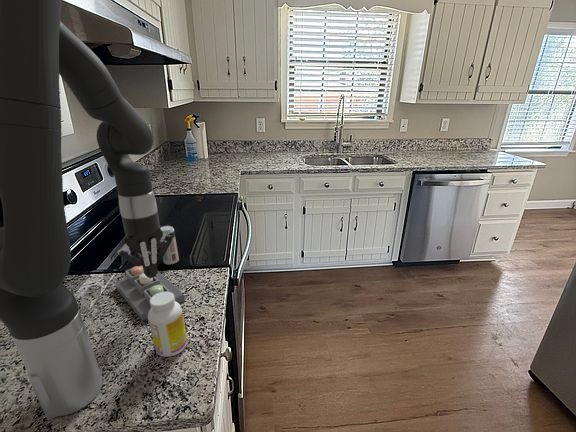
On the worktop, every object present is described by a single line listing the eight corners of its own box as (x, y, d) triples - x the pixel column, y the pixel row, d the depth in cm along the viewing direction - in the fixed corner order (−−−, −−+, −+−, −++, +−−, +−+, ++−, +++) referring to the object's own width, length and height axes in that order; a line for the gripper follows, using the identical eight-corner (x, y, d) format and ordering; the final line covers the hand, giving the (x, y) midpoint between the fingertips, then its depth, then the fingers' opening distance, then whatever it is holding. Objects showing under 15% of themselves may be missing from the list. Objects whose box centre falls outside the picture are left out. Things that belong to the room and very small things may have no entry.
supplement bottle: (191, 334, 72) (183, 287, 67) (183, 357, 65) (174, 308, 60) (161, 335, 71) (151, 288, 66) (150, 359, 65) (139, 309, 60)
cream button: (143, 289, 82) (141, 280, 81) (139, 284, 84) (137, 275, 83) (155, 284, 84) (153, 275, 83) (150, 279, 86) (149, 270, 85)
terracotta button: (135, 281, 87) (133, 273, 86) (130, 277, 89) (128, 268, 88) (146, 277, 89) (144, 268, 88) (142, 272, 91) (140, 264, 90)
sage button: (154, 303, 78) (152, 294, 77) (149, 297, 80) (147, 288, 79) (166, 297, 80) (165, 288, 79) (161, 292, 82) (159, 283, 81)
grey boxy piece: (142, 321, 76) (139, 306, 74) (116, 287, 88) (112, 274, 86) (184, 300, 83) (182, 286, 81) (154, 272, 95) (152, 259, 94)
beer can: (181, 257, 103) (175, 224, 99) (176, 265, 99) (171, 231, 94) (166, 258, 103) (160, 225, 99) (161, 265, 99) (155, 231, 94)
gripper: (113, 223, 64) (129, 294, 71) (174, 208, 73) (183, 272, 79) (102, 214, 69) (118, 280, 76) (160, 200, 78) (170, 261, 84)
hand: (151, 276), depth 77 cm, fingers closed
